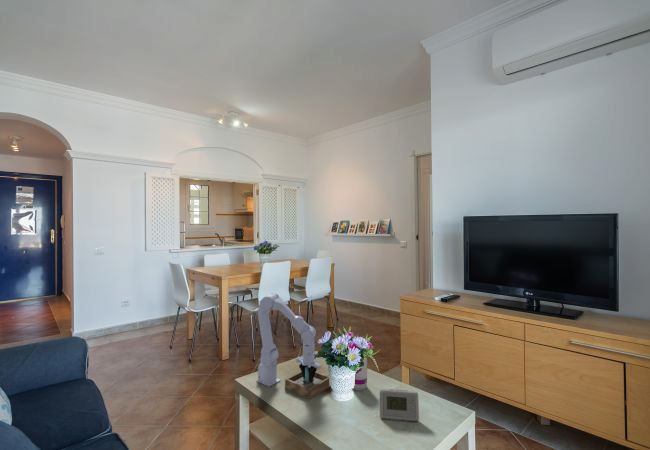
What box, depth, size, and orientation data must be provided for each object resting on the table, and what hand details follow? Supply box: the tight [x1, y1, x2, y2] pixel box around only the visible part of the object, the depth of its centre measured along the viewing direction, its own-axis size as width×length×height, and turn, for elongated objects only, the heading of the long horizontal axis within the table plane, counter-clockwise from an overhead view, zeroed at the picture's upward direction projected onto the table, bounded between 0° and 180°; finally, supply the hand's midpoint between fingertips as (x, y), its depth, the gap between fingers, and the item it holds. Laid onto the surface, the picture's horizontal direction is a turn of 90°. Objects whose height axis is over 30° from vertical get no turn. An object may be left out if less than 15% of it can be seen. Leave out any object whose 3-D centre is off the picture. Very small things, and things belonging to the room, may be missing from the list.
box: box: [284, 370, 330, 400], centre depth 165 cm, size 16×16×4 cm
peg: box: [305, 366, 311, 384], centre depth 165 cm, size 3×3×9 cm
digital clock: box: [379, 388, 420, 422], centre depth 141 cm, size 16×9×11 cm, turn 71°
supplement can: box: [353, 357, 368, 391], centre depth 166 cm, size 8×8×15 cm
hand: (308, 379), depth 165 cm, fingers closed on peg, 3 cm apart
